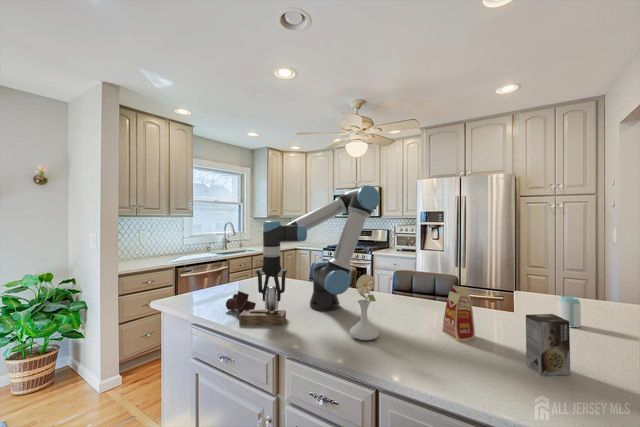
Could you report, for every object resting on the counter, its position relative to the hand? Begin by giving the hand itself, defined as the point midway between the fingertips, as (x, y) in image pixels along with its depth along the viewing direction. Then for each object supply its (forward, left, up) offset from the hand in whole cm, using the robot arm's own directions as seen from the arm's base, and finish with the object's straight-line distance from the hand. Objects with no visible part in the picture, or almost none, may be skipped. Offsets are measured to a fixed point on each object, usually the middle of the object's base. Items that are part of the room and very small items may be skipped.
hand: (271, 308), depth 130 cm
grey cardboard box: (-93, +36, -6) cm, 100 cm away
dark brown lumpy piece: (+17, -11, -6) cm, 21 cm away
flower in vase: (-40, +15, -6) cm, 43 cm away
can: (-129, -2, -6) cm, 129 cm away
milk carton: (-77, +11, -6) cm, 78 cm away
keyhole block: (+4, 0, -6) cm, 7 cm away
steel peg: (0, 0, -5) cm, 5 cm away
